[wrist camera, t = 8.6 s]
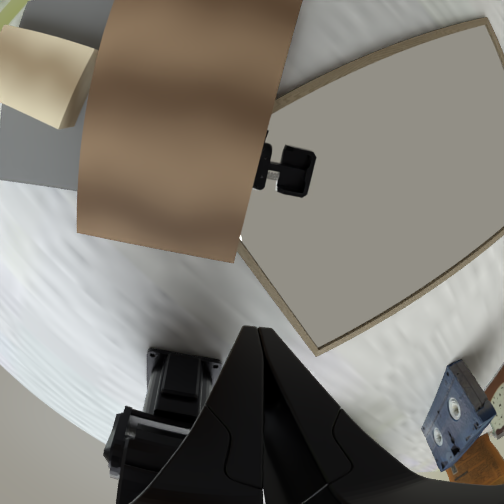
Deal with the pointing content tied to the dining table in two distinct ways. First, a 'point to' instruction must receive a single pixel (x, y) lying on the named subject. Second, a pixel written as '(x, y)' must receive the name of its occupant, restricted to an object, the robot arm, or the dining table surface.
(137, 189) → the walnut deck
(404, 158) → the rectangular mirror
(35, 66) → the maple tile
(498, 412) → the food container
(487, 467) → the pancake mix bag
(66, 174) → the rubber mat
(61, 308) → the dining table surface
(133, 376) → the dining table surface
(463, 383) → the vhs cassette tape
